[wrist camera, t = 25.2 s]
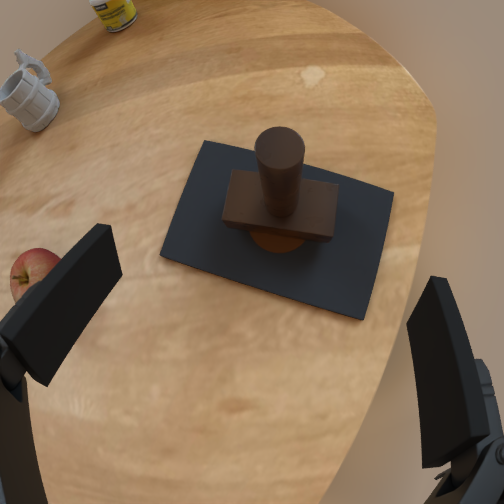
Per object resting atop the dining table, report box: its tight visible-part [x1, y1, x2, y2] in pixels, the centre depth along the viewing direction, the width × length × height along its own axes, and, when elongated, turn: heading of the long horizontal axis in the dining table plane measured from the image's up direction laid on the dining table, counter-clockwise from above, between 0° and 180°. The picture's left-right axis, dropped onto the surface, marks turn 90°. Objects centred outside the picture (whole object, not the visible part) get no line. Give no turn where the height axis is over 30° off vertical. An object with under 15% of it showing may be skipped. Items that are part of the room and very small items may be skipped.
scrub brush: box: [222, 127, 339, 243], centre depth 25 cm, size 10×5×14 cm, turn 80°
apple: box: [10, 248, 61, 303], centre depth 30 cm, size 8×8×8 cm
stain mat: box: [160, 140, 394, 320], centre depth 32 cm, size 22×14×1 cm, turn 72°
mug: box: [0, 49, 60, 132], centre depth 34 cm, size 8×12×12 cm, turn 3°
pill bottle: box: [90, 0, 137, 32], centre depth 36 cm, size 6×6×12 cm
